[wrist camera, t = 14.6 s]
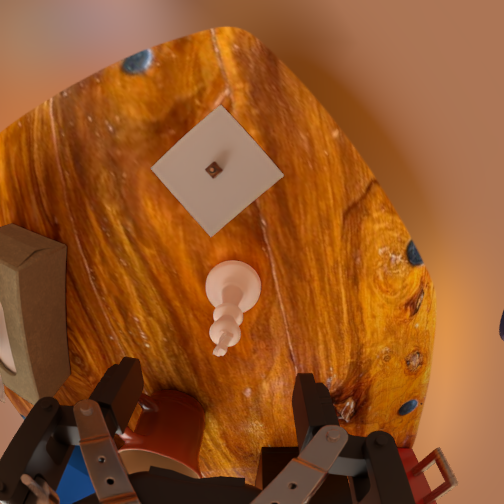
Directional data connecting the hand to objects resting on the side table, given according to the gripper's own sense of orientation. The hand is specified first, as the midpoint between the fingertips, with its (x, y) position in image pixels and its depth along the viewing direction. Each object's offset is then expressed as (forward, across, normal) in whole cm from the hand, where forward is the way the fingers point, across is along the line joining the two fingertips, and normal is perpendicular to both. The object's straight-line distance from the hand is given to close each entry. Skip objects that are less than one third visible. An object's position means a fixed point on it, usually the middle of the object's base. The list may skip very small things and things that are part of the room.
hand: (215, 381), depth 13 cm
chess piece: (+13, 0, 0) cm, 13 cm away
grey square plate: (+13, +2, -10) cm, 16 cm away
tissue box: (+13, +24, +5) cm, 28 cm away
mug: (+13, +7, +15) cm, 21 cm away
